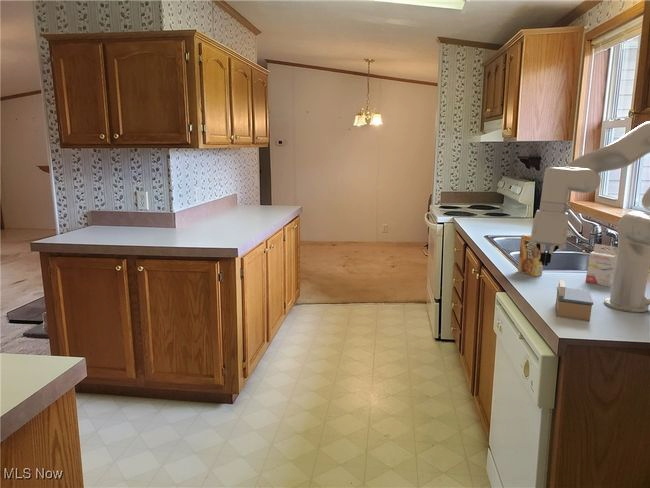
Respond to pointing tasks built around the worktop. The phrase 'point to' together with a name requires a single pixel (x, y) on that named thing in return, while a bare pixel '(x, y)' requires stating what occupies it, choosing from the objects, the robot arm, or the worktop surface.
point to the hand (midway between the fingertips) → (544, 264)
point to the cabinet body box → (573, 310)
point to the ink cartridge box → (601, 265)
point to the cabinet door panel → (573, 294)
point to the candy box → (529, 258)
